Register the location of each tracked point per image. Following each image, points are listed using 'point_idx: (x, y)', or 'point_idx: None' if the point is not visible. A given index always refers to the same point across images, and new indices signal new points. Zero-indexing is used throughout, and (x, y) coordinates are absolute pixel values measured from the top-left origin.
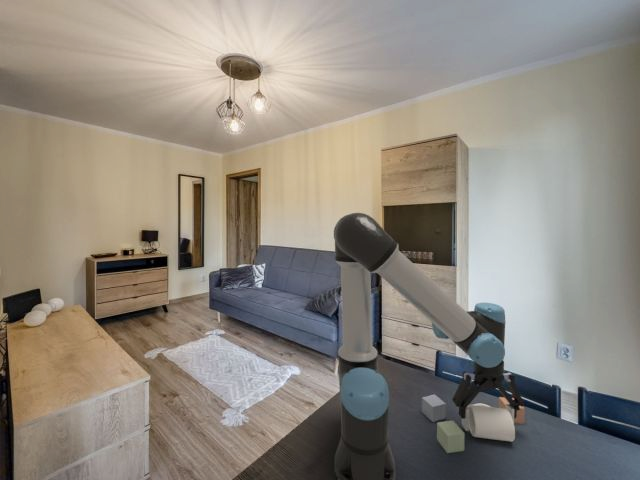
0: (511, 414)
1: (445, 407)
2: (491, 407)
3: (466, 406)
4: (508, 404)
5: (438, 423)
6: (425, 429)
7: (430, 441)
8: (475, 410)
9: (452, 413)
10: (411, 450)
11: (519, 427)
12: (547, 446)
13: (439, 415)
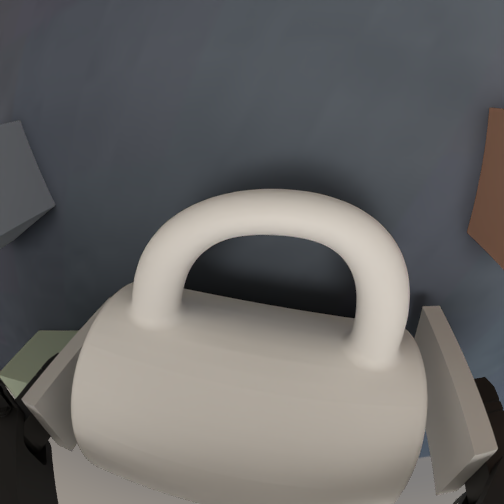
0: (431, 455)
1: (2, 235)
2: (260, 496)
3: (47, 458)
4: (484, 458)
5: (2, 379)
6: (4, 282)
7: (27, 335)
8: (110, 472)
9: (95, 146)
10: (4, 351)
11: (500, 279)
12: (493, 382)
13: (14, 235)
